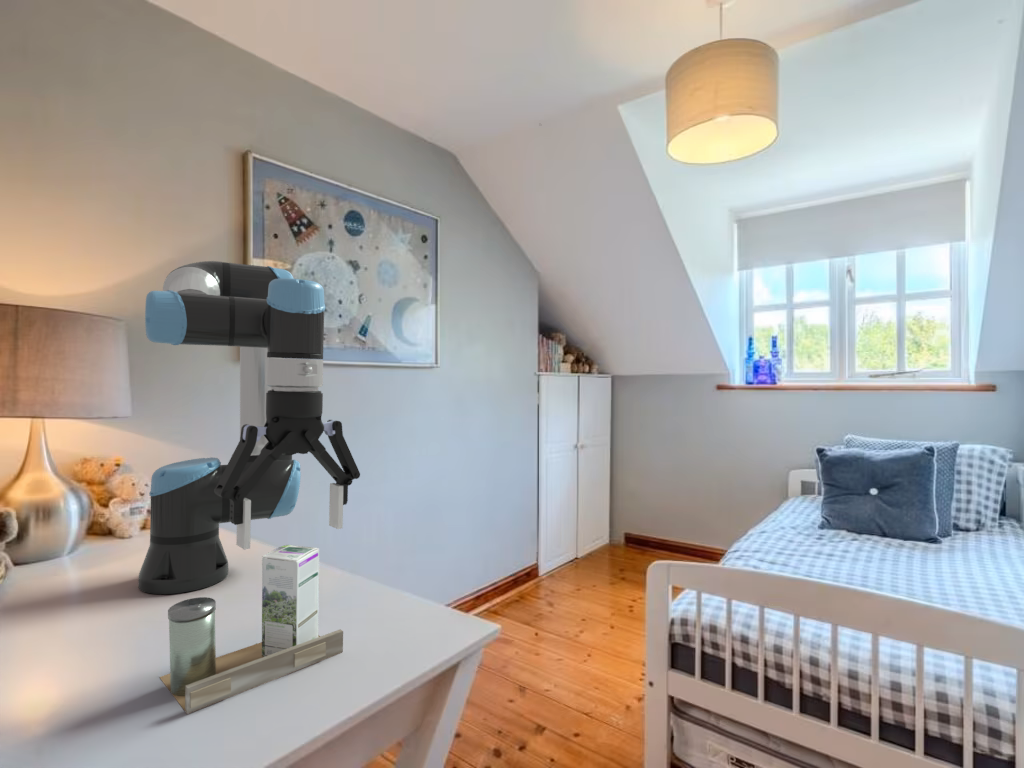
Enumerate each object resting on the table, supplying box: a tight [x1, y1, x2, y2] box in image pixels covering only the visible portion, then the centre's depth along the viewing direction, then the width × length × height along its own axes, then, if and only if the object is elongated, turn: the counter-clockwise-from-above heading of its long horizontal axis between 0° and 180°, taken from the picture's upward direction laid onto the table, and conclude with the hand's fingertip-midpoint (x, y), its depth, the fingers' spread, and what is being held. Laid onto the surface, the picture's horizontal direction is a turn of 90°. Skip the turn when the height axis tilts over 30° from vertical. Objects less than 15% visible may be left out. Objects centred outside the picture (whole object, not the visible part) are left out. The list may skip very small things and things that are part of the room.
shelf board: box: [159, 629, 344, 715], centre depth 74 cm, size 11×20×4 cm, turn 137°
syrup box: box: [261, 544, 320, 657], centre depth 78 cm, size 6×6×14 cm
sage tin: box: [167, 596, 217, 696], centre depth 69 cm, size 5×5×10 cm
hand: (292, 536), depth 78 cm, fingers open, 13 cm apart
